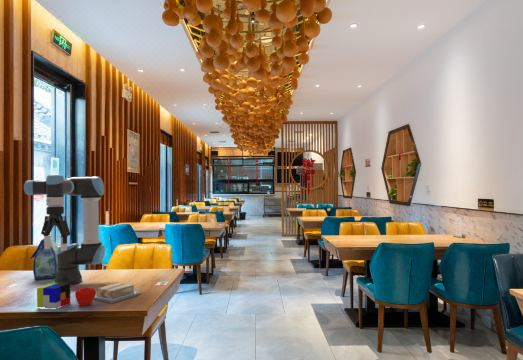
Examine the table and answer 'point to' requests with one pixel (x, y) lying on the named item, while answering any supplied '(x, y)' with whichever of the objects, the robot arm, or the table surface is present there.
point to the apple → (85, 296)
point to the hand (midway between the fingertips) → (55, 249)
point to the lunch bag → (45, 261)
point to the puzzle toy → (53, 295)
